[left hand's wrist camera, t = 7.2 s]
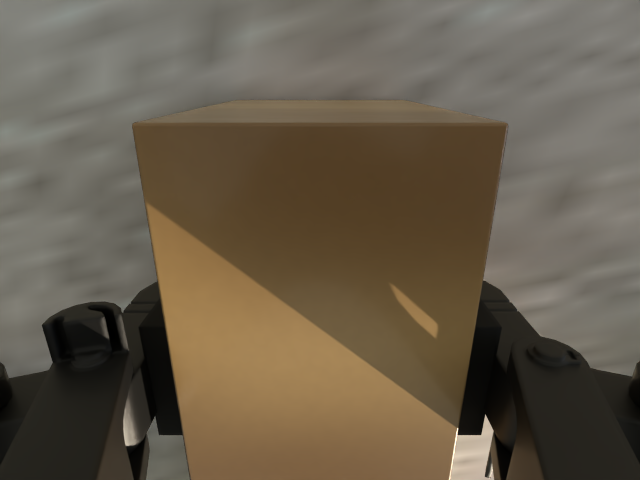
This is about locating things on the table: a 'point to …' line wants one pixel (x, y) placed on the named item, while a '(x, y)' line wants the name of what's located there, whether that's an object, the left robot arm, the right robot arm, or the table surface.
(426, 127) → the beam
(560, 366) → the left robot arm
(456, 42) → the table surface
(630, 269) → the table surface
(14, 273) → the table surface
